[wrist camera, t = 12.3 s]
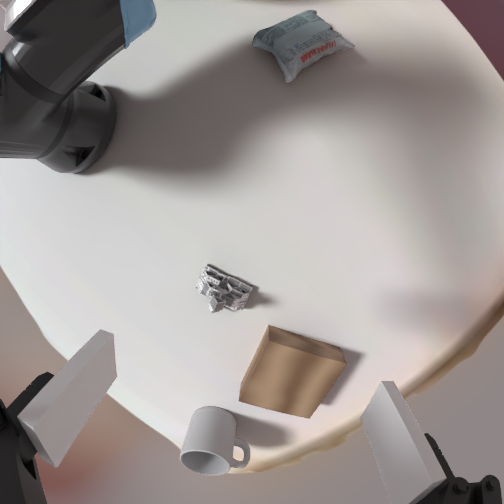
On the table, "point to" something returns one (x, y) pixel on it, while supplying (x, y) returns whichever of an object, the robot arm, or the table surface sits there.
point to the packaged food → (300, 42)
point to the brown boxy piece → (291, 373)
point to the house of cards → (222, 290)
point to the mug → (212, 443)
